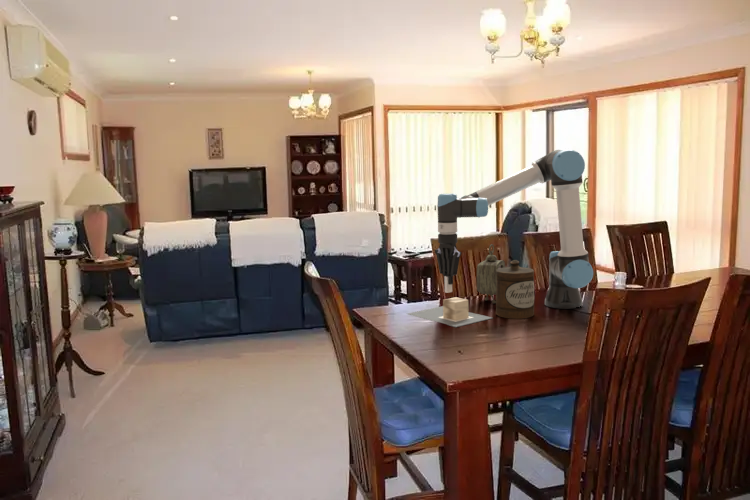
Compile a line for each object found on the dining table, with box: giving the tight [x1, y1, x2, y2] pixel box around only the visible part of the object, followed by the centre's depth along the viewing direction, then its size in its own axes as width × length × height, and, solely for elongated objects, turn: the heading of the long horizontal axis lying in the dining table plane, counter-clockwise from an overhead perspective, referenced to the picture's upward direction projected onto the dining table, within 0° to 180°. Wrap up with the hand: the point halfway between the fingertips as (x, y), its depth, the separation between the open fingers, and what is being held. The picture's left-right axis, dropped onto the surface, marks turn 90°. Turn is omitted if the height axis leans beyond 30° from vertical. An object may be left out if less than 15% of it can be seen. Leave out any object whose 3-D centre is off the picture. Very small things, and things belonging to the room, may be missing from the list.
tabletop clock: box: [476, 243, 506, 304], centre depth 285 cm, size 14×9×25 cm, turn 154°
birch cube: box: [442, 296, 470, 320], centre depth 257 cm, size 7×7×7 cm
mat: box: [407, 305, 493, 328], centre depth 261 cm, size 29×20×1 cm
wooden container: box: [495, 259, 535, 320], centre depth 259 cm, size 15×15×22 cm
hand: (448, 292), depth 260 cm, fingers closed
